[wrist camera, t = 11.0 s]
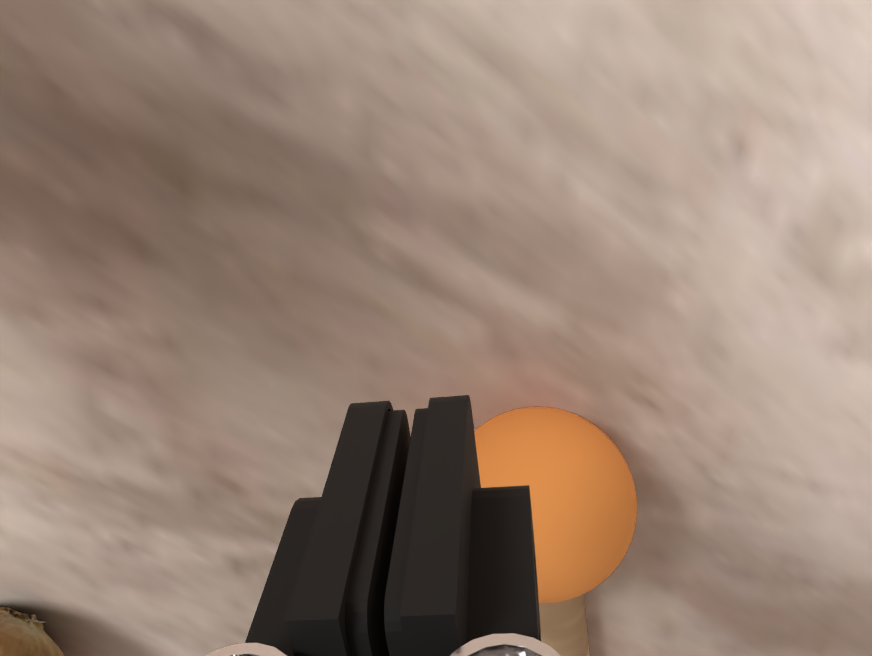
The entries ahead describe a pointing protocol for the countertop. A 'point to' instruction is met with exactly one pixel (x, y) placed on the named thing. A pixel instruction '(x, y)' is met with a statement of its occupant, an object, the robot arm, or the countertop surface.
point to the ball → (563, 493)
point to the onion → (24, 635)
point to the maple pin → (565, 626)
